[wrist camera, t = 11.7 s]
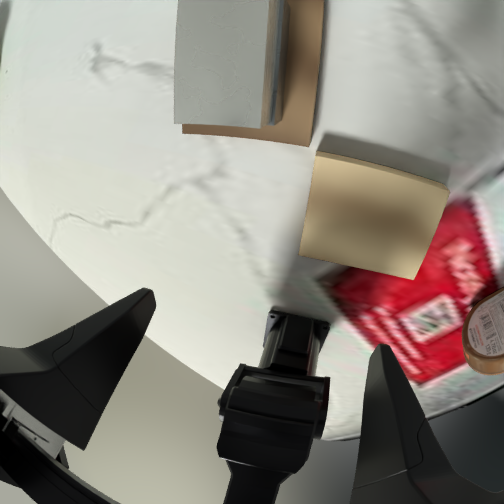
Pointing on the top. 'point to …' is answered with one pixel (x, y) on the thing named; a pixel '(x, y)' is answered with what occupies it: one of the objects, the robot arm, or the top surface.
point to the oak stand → (370, 215)
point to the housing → (230, 62)
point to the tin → (485, 335)
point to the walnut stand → (289, 82)
